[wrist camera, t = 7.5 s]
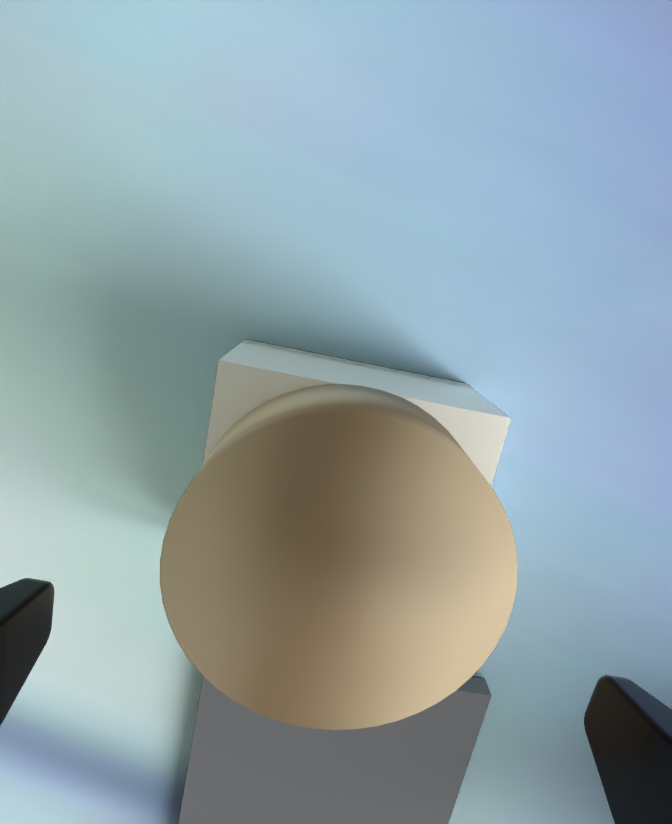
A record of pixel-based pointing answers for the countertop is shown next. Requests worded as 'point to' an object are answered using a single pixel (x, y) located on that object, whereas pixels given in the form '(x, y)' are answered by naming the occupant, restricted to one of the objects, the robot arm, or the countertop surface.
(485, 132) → the countertop surface
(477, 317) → the countertop surface
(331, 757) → the mat
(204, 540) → the cork lid
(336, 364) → the open white box
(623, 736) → the robot arm
